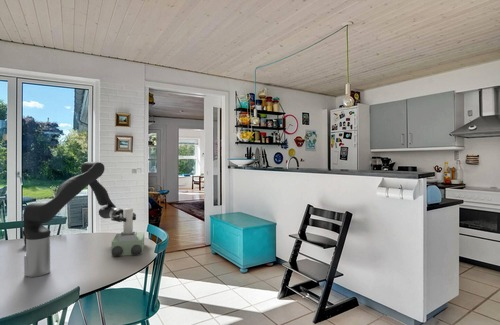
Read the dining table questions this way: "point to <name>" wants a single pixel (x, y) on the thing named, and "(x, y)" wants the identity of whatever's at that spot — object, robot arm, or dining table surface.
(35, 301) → the dining table surface
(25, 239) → the coffee mug
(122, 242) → the pale green toy car
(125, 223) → the spout tube
